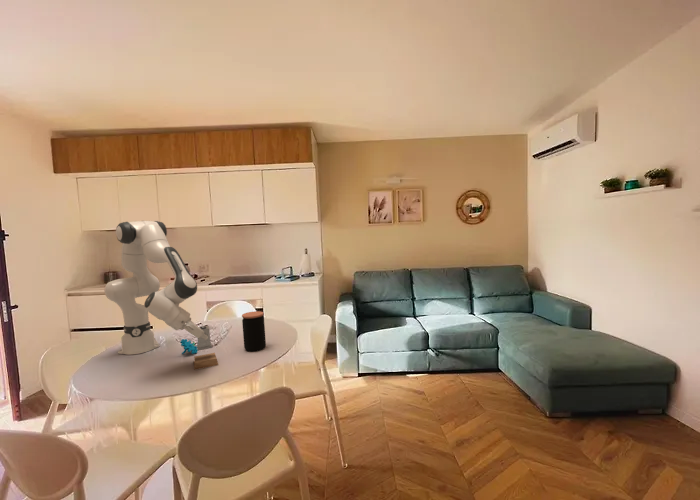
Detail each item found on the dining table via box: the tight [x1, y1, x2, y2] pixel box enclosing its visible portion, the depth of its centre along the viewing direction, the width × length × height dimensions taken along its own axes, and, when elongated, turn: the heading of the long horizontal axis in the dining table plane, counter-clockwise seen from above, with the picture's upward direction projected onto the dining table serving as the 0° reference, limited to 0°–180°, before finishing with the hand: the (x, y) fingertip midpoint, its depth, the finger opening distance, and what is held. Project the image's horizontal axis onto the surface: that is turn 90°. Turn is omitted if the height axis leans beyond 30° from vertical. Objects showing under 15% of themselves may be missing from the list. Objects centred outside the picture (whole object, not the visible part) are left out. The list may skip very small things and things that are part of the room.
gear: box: [179, 338, 199, 355], centre depth 179 cm, size 11×6×10 cm
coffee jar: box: [241, 310, 267, 353], centre depth 180 cm, size 11×11×18 cm
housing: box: [196, 325, 213, 351], centre depth 163 cm, size 6×6×10 cm
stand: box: [193, 352, 219, 371], centre depth 163 cm, size 10×10×3 cm
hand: (205, 336), depth 163 cm, fingers closed on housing, 5 cm apart
